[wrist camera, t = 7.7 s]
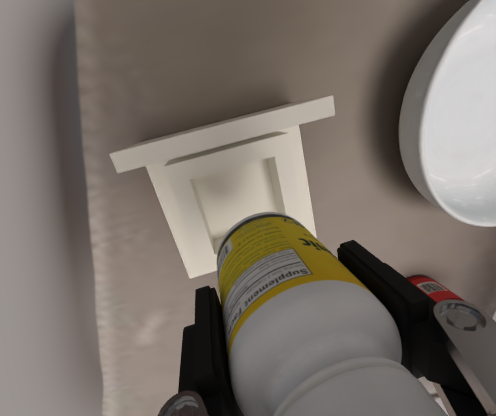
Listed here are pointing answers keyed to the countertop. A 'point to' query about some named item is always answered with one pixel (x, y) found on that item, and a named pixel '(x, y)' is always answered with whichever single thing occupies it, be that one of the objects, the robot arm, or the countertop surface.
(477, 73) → the serving bowl
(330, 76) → the countertop surface
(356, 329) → the supplement bottle
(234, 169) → the cream rack
